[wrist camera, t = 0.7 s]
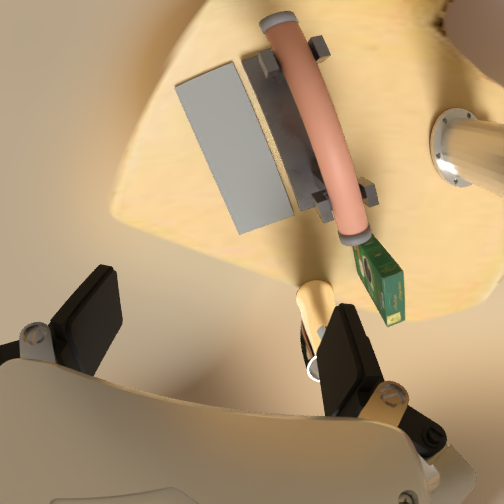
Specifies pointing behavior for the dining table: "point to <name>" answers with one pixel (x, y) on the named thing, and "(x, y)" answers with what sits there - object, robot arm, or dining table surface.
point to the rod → (319, 124)
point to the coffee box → (381, 279)
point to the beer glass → (314, 320)
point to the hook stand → (295, 131)
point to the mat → (235, 148)
